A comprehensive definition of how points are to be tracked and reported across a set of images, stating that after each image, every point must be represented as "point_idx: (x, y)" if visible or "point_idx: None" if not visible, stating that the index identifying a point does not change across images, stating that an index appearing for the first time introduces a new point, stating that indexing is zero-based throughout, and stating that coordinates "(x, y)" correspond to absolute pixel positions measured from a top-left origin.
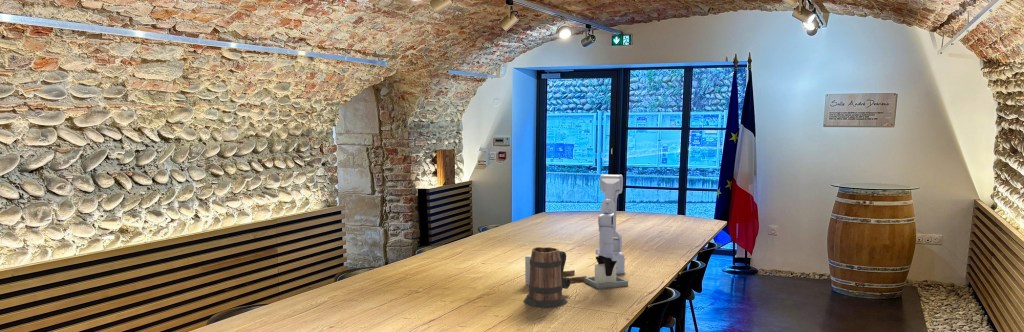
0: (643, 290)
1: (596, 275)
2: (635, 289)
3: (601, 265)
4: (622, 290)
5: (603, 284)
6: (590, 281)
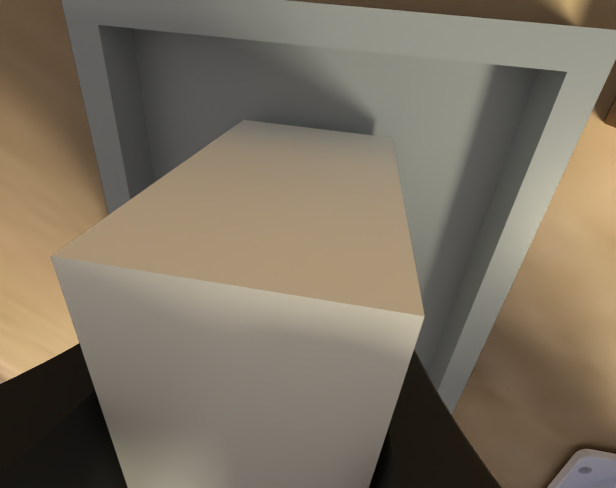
0: (20, 351)
1: (322, 163)
2: (54, 328)
3: (202, 391)
4: (32, 227)
5: (87, 90)
6: (351, 6)
